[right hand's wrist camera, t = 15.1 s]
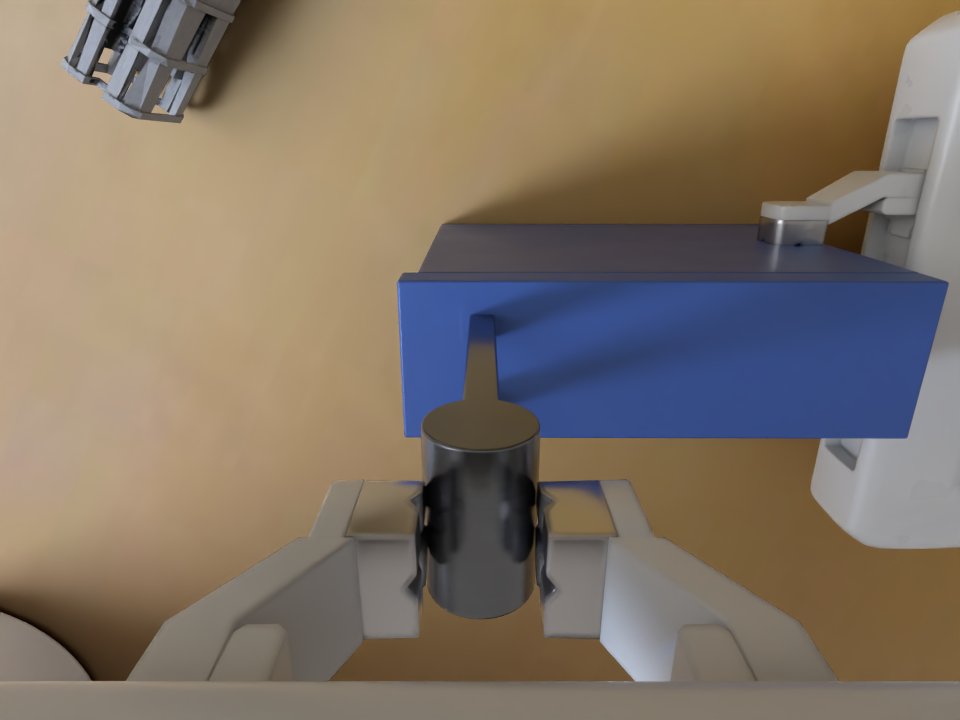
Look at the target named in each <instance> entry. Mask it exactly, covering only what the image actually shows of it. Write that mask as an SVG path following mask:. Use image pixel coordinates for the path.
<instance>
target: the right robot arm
mask: <svg viewBox="0 0 960 720" xmlns="http://www.w3.org/2000/svg"><path fill="white" fill-rule="evenodd" d="M426 507H427V504H426V485H425V481H387V480H366V481H364V480H336V481H334V482H333V483H332V484H331V486H330V488H329V490H328V493H327V495H326V497H325V499H324V502H323V504H322V506H321V509H320V511H319V513H318V515H317V518H316V520H315V522H314V525H313V527H312V529H311V531H310V534H309V536H308V537H299V538H297V539H296V540H294V541H292V542H291V543H289V544H288V545H286V546H284V547H283V548H281V549H280V550H278V551H276V552H275V553H273V554H272V555H270V556H268V557H267V558H265V559H264V560H262V561H260V562H259V563H257V564H256V565H254V566H252V567H251V568H249V569H248V570H246V571H244V572H243V573H241V574H240V575H238V576H236V577H235V578H233V579H232V580H230V581H228V582H227V583H225V584H224V585H222V586H220V587H219V588H217V589H216V590H214V591H213V592H211V593H209V594H208V595H206V596H205V597H203V598H201V599H200V600H198V601H197V602H195V603H193V604H192V605H190V606H189V607H187V608H185V609H184V610H182V611H181V612H179V613H177V614H176V615H174V616H173V617H171V618H169V619H168V620H166V621H165V622H164V623H163V625H162V626H161V628H160V629H159V631H158V632H157V634H156V635H155V637H154V638H153V640H152V641H151V643H150V644H149V646H148V648H147V649H146V651H145V652H144V654H143V655H142V657H141V658H140V660H139V661H138V663H137V664H136V666H135V667H134V669H133V670H132V672H131V673H130V675H129V676H128V678H127V679H126V681H91V679H90V677H89V676H88V674H87V673H86V671H85V670H84V669H83V667H82V666H81V665H80V664H79V662H78V661H77V660H76V659H75V658H74V657H73V656H72V655H71V654H70V653H69V652H68V651H67V650H66V649H65V648H64V647H62V646H61V645H60V644H59V643H58V642H56V641H55V640H54V639H52V638H51V637H49V636H48V635H46V634H45V633H43V632H42V631H40V630H38V629H37V628H35V627H33V626H31V625H30V624H28V623H26V622H24V621H21V620H19V619H17V618H15V617H12V616H10V615H7V614H4V613H2V612H0V720H960V681H839V680H838V679H837V677H836V676H835V674H834V673H833V671H832V670H831V668H830V667H829V665H828V664H827V662H826V661H825V659H824V658H823V656H822V655H821V653H820V652H819V650H818V648H817V647H816V645H815V644H814V642H813V641H812V639H811V638H810V636H809V635H808V633H807V632H806V630H805V629H804V627H803V626H802V624H801V623H800V622H799V621H797V620H796V619H794V618H792V617H791V616H789V615H788V614H786V613H784V612H783V611H781V610H780V609H778V608H776V607H775V606H773V605H772V604H770V603H768V602H767V601H765V600H764V599H762V598H760V597H759V596H757V595H756V594H754V593H752V592H751V591H749V590H748V589H746V588H744V587H743V586H741V585H740V584H738V583H736V582H735V581H733V580H732V579H730V578H728V577H727V576H725V575H724V574H722V573H720V572H719V571H717V570H716V569H714V568H712V567H711V566H709V565H708V564H706V563H704V562H703V561H701V560H700V559H698V558H696V557H695V556H693V555H692V554H690V553H688V552H687V551H685V550H684V549H682V548H680V547H679V546H677V545H676V544H674V543H672V542H671V541H669V540H668V539H666V538H664V537H655V536H654V534H653V531H652V529H651V527H650V525H649V522H648V520H647V518H646V516H645V514H644V511H643V509H642V507H641V505H640V503H639V500H638V498H637V496H636V494H635V491H634V489H633V487H632V485H631V483H630V481H628V480H626V479H624V480H599V481H598V480H596V481H556V482H537V490H536V510H537V517H538V524H537V526H536V527H535V570H536V580H537V585H538V586H539V587H540V611H541V619H542V626H543V633H544V638H578V639H600V642H601V644H602V645H603V646H604V647H605V648H606V649H607V650H608V651H609V653H610V654H611V655H612V656H613V657H614V658H615V659H616V660H617V661H618V663H619V664H620V665H621V666H622V667H623V668H624V669H625V670H626V672H627V673H628V674H629V675H630V676H631V677H632V678H633V679H634V680H635V681H329V680H330V679H331V678H332V677H333V675H334V674H335V673H336V672H337V671H338V670H339V669H340V668H341V666H342V665H343V664H344V663H345V662H346V661H347V660H348V659H349V657H350V656H351V655H352V654H353V653H354V652H355V651H356V650H357V649H358V647H359V646H360V645H361V644H362V643H363V639H384V638H419V633H420V625H421V617H422V610H423V587H424V586H425V585H426V576H427V562H428V532H427V526H426V525H425V524H424V522H425V514H426Z"/></svg>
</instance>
